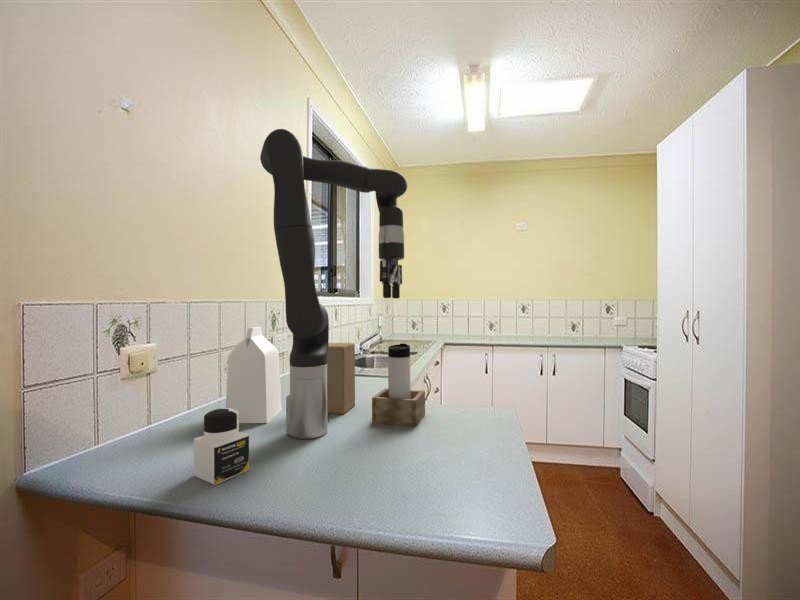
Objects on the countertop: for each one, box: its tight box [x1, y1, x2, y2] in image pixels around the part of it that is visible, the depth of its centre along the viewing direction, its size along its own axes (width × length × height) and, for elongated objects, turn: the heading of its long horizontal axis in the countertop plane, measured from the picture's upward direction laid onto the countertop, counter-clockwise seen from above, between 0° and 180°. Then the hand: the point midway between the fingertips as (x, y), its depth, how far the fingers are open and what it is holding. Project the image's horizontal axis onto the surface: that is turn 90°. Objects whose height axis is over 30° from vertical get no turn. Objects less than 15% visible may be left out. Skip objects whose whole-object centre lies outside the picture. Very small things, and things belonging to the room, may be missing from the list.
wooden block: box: [327, 342, 356, 415], centre depth 112 cm, size 10×10×20 cm
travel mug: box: [387, 343, 412, 399], centre depth 103 cm, size 6×7×20 cm
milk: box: [225, 326, 283, 424], centre depth 105 cm, size 12×12×26 cm
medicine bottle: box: [193, 407, 250, 486], centre depth 70 cm, size 7×7×12 cm
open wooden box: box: [371, 388, 426, 427], centre depth 103 cm, size 12×11×7 cm
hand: (391, 298), depth 106 cm, fingers open, 8 cm apart
